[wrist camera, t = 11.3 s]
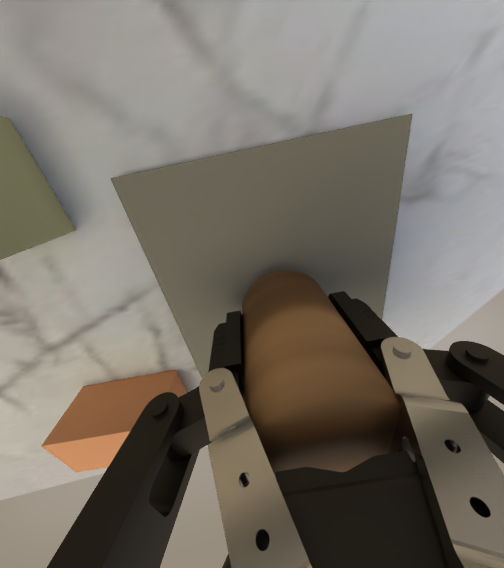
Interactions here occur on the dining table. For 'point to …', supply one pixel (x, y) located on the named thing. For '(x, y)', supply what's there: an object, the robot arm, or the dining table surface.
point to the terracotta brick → (105, 419)
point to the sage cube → (25, 198)
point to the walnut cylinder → (311, 379)
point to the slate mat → (270, 221)
